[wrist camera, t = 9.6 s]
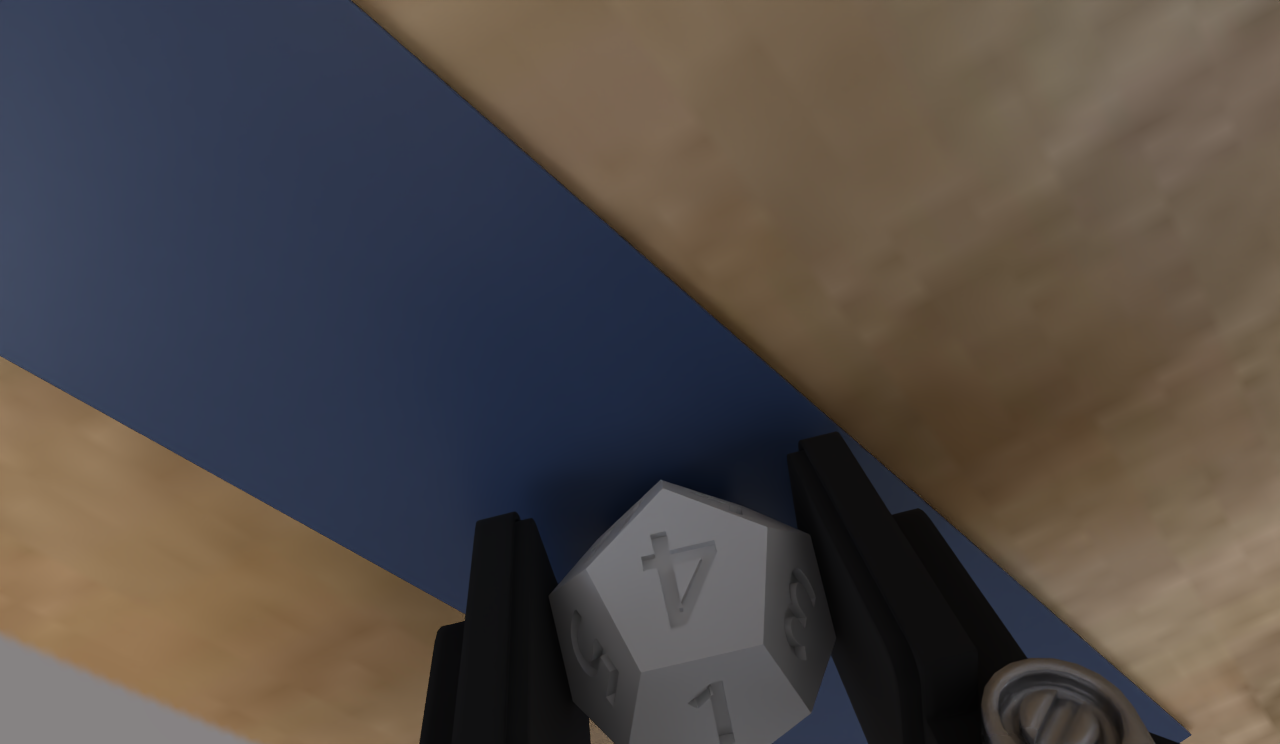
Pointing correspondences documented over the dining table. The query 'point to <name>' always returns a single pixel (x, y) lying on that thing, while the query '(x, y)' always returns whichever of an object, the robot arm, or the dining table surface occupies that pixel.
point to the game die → (694, 624)
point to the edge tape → (379, 303)
